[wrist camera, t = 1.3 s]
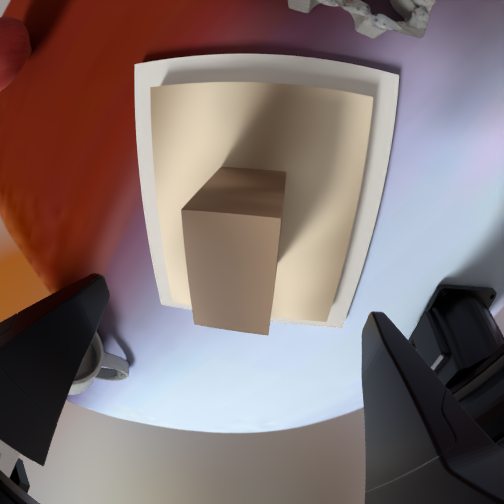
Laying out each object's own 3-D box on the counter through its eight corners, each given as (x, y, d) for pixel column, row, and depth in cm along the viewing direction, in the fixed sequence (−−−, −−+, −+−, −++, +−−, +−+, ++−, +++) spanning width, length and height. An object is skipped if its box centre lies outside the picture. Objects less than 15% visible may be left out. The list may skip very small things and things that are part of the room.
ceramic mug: (56, 332, 27) (28, 376, 21) (58, 298, 23) (18, 350, 17) (125, 377, 29) (103, 426, 23) (140, 353, 25) (113, 415, 19)
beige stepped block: (367, 96, 10) (421, 100, 5) (325, 311, 17) (330, 390, 12) (159, 87, 11) (80, 93, 6) (177, 292, 18) (142, 360, 13)
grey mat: (395, 75, 10) (399, 75, 9) (341, 321, 18) (341, 328, 18) (140, 65, 11) (134, 64, 11) (164, 299, 20) (161, 304, 19)
